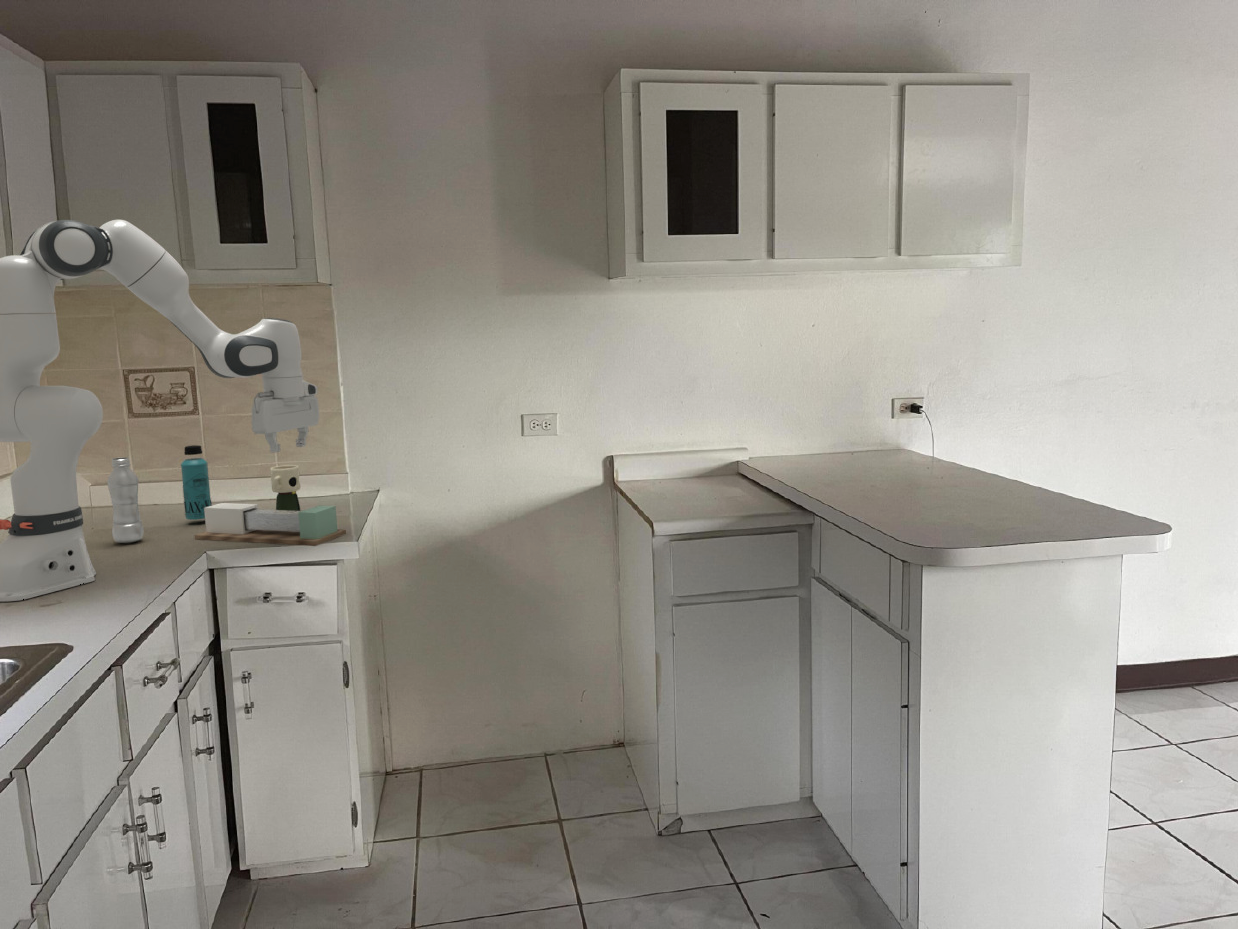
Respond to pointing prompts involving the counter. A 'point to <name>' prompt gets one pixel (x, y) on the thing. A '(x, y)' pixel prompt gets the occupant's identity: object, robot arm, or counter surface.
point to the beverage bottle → (195, 484)
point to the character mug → (286, 486)
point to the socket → (317, 522)
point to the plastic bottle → (124, 502)
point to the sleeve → (227, 518)
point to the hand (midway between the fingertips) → (288, 449)
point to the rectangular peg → (272, 520)
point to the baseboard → (269, 537)
